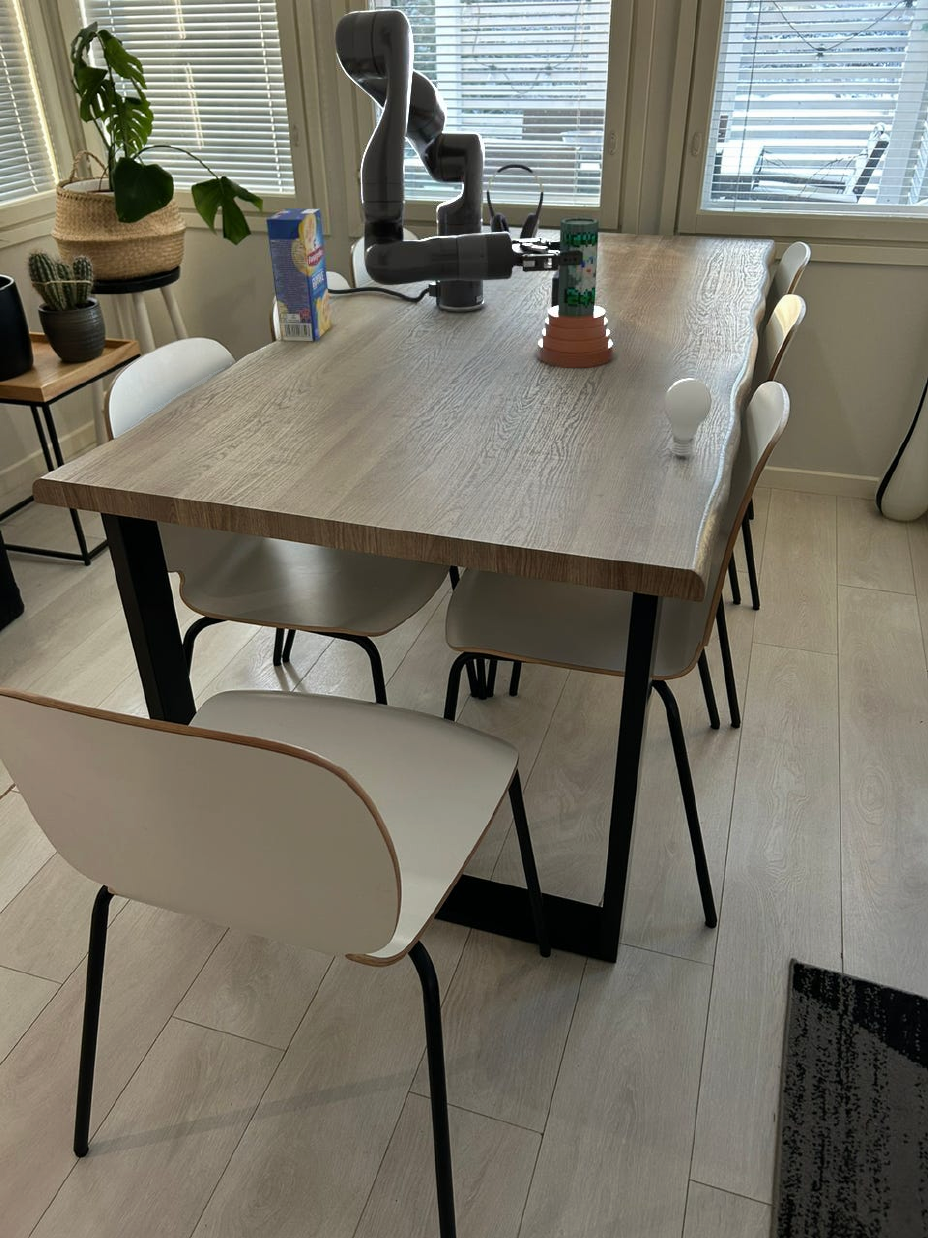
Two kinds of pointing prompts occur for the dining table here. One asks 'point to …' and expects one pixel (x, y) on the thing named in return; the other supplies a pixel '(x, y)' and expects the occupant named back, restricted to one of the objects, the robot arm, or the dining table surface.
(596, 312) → the orange stepped round pedestal
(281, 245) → the blue cracker box
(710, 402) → the lightbulb
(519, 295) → the dining table surface
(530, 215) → the headphones
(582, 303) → the can
